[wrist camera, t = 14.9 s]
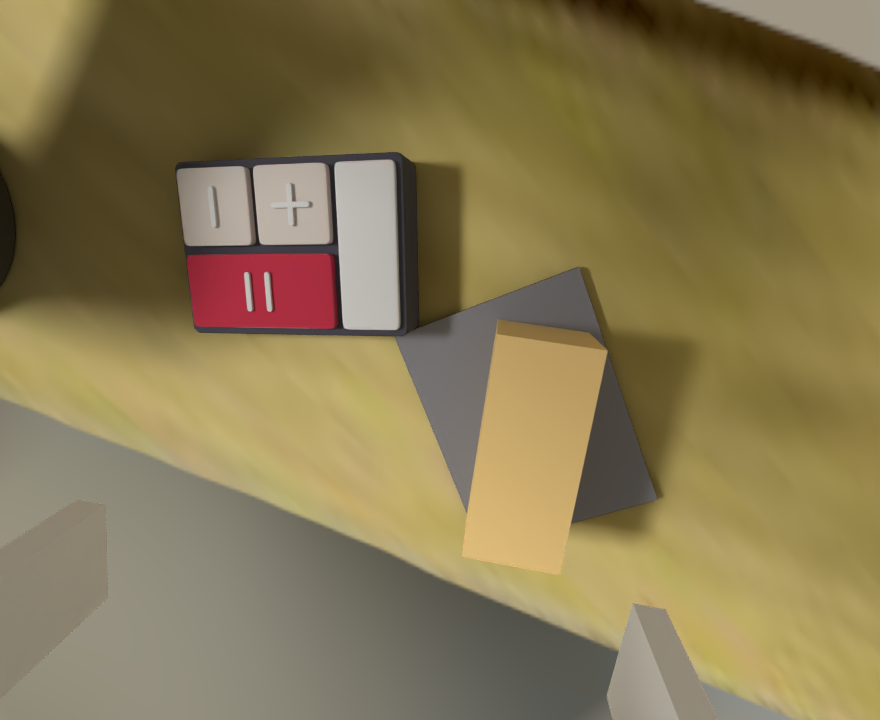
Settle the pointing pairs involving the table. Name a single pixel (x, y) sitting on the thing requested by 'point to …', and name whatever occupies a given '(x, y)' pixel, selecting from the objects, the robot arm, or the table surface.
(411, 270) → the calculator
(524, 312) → the charcoal mat
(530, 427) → the ochre block
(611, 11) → the table surface
